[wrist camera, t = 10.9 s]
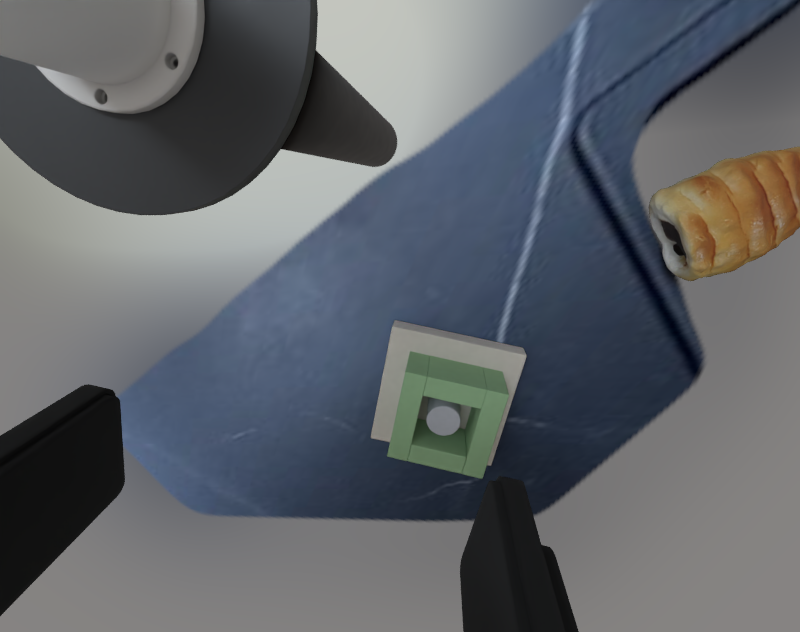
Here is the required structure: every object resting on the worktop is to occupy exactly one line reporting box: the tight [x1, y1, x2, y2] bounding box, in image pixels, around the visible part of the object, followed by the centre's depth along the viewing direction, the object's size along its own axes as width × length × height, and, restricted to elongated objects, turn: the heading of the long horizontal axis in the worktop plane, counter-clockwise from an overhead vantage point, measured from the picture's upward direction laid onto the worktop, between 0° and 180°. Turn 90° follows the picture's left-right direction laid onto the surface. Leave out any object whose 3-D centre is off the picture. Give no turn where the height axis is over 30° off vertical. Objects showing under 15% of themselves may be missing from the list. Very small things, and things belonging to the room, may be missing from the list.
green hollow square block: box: [387, 351, 509, 479], centre depth 29 cm, size 7×7×4 cm
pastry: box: [649, 147, 800, 281], centre depth 24 cm, size 9×7×4 cm
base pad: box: [371, 320, 527, 466], centre depth 30 cm, size 10×10×4 cm
